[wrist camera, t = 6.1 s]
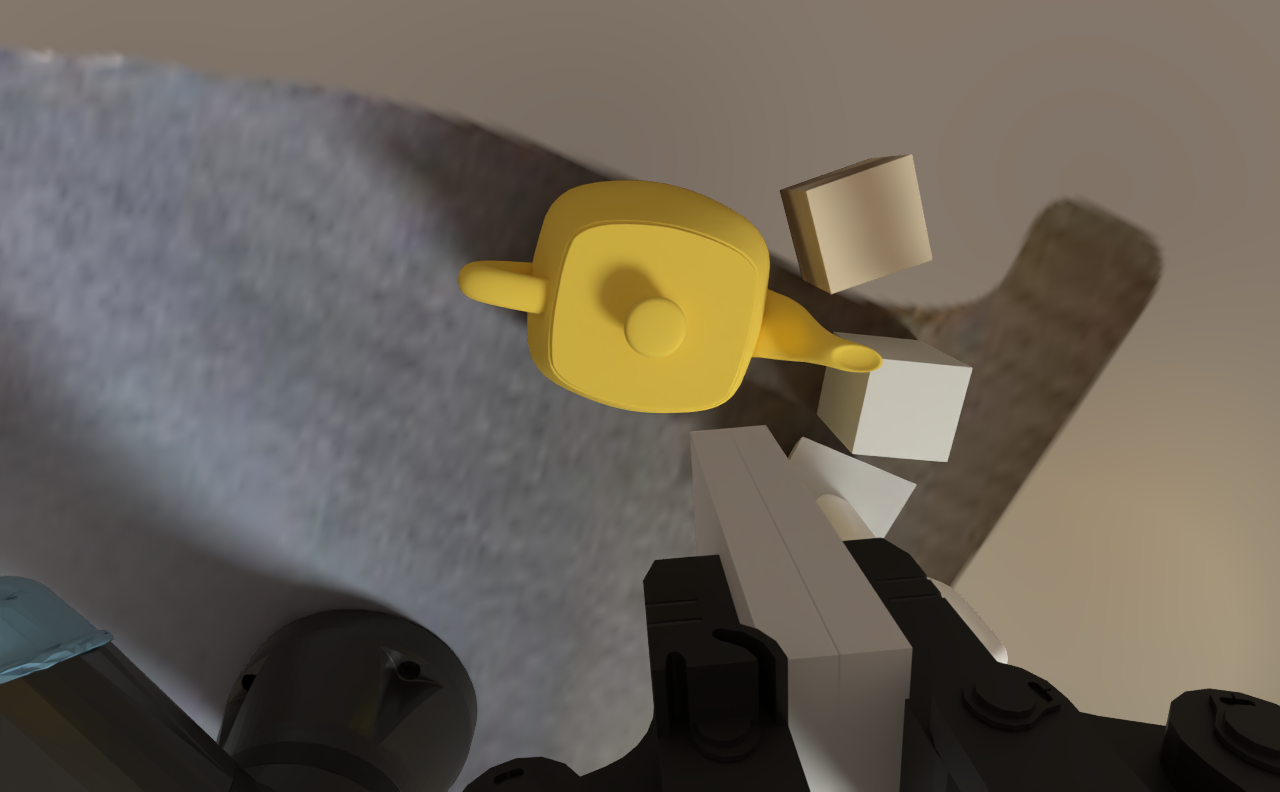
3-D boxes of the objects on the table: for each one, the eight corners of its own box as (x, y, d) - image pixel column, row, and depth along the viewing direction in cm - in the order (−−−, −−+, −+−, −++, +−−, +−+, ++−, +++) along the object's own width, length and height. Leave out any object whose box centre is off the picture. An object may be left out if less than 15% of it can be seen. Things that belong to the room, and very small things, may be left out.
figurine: (768, 406, 39) (862, 537, 24) (905, 465, 40) (1068, 620, 26) (714, 509, 41) (771, 686, 26) (846, 561, 42) (968, 754, 28)
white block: (816, 414, 39) (851, 453, 33) (833, 331, 38) (873, 357, 32) (897, 421, 39) (947, 461, 34) (917, 339, 38) (972, 367, 32)
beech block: (802, 279, 37) (831, 294, 32) (779, 190, 35) (806, 190, 30) (890, 250, 36) (932, 260, 32) (870, 158, 35) (912, 154, 30)
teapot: (838, 220, 36) (930, 234, 25) (786, 410, 39) (849, 491, 29) (503, 151, 34) (458, 137, 24) (477, 357, 37) (427, 423, 27)
